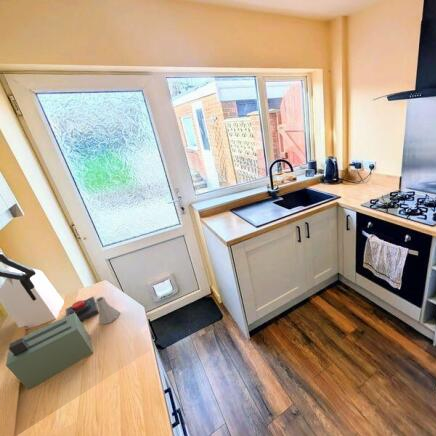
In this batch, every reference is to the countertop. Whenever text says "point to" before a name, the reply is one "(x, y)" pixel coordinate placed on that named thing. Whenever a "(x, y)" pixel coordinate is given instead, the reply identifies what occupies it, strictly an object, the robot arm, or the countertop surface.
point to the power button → (78, 305)
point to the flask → (106, 311)
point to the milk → (24, 305)
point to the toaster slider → (18, 346)
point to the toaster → (50, 351)
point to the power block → (85, 310)
